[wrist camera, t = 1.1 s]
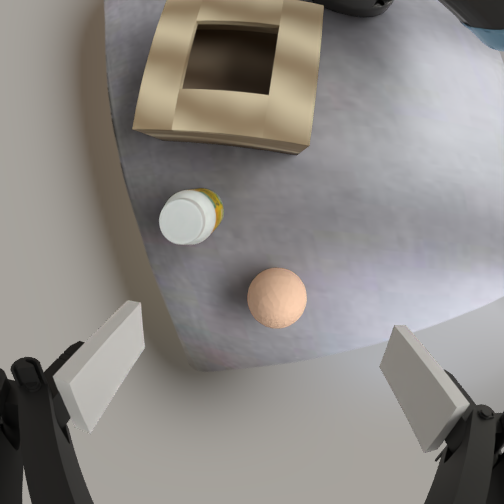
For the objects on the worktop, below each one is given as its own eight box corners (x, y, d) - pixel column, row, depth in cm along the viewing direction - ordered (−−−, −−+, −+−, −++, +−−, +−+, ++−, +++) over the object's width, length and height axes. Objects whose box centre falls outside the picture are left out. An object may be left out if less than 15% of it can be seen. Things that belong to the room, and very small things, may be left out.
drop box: (187, 31, 26) (168, -4, 18) (310, 41, 26) (323, 5, 18) (163, 140, 30) (132, 129, 22) (296, 155, 30) (309, 145, 22)
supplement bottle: (174, 221, 33) (142, 236, 24) (191, 180, 32) (163, 181, 22) (213, 239, 33) (195, 262, 24) (232, 199, 32) (220, 206, 23)
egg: (237, 281, 34) (231, 309, 27) (280, 249, 33) (286, 269, 26) (270, 318, 36) (271, 353, 28) (312, 289, 34) (324, 318, 27)
